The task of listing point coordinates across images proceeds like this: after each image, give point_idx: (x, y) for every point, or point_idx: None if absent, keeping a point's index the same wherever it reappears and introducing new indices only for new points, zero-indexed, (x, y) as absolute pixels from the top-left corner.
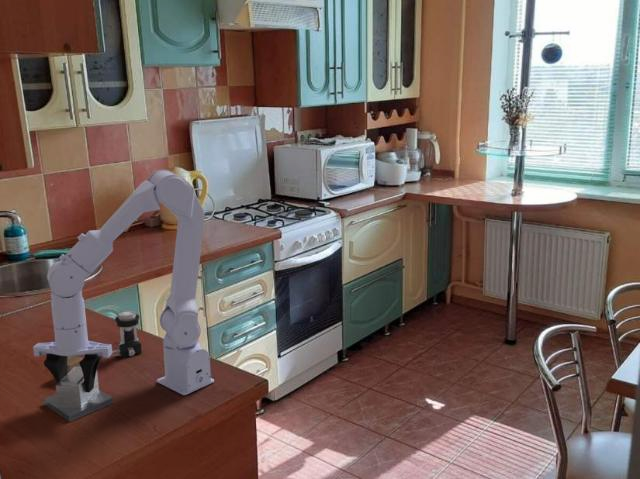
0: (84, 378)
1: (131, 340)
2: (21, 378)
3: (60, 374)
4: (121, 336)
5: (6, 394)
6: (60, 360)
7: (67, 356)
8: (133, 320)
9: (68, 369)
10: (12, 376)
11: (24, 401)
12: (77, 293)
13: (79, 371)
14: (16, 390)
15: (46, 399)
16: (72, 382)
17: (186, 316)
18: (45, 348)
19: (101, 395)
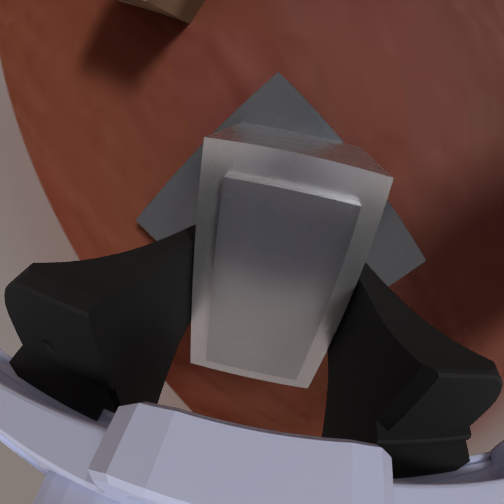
0: (331, 371)
1: None
2: (24, 31)
3: (175, 336)
4: None
5: (23, 134)
6: (137, 393)
7: (130, 288)
8: None
9: (148, 4)
10: (6, 29)
11: (79, 180)
12: None
13: (276, 261)
14: (33, 106)
15: (148, 226)
16: (269, 373)
17: None
18: (31, 464)
19: (381, 231)
